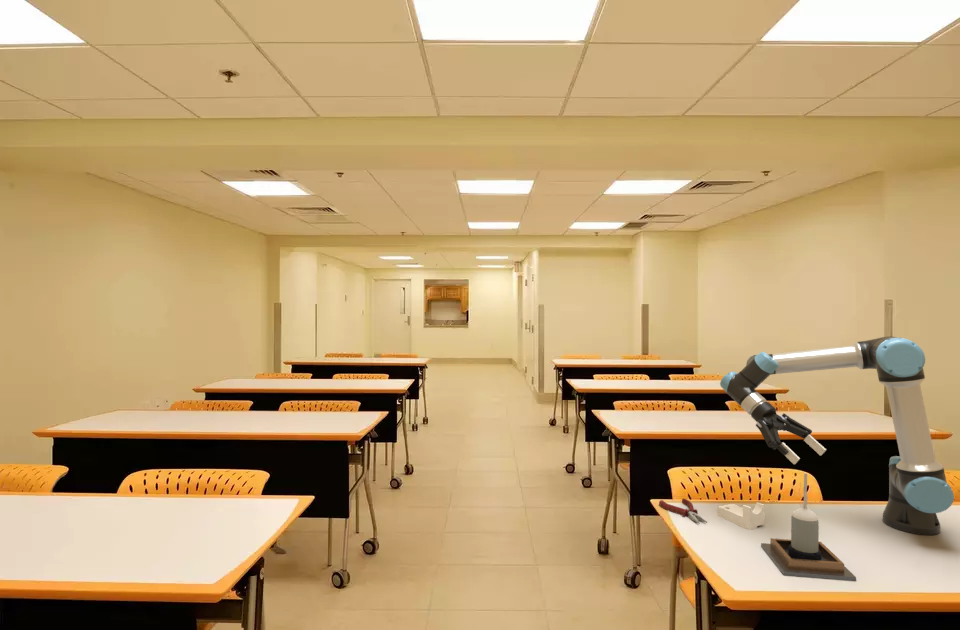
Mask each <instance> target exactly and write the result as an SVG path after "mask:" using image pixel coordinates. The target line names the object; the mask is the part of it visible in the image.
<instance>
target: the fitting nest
mask: <svg viewBox="0 0 960 630" xmlns="http://www.w3.org/2000/svg"><path fill="white" fill-rule="evenodd" d="M769 539H770V543H768V542H767V543H765V542H762V543H760V547H761V548H762V550H763V551H764V552H765V553H766V555H767V556H768V557H769V558H770V560H771V561H772V562H773V563H774V565H775V566H776V567H777V569H779V571H780V572H781V574H782V575H783V576H788V577H798V578H799V577H800V578H812V579H815V578H816V579H824V580H825V579H828V580H837V581H838V580H840V581H850V582H851V581H852V582H857V577H856V575H854V574H853V573H852V572H851V571H850V569H848V567H846V566H845V563H844V562H843V561H842V560H841V559H840V558H839V557H837V555H836V554H835V553H834V552H832V550H830V548H828V547H827V546H826V545H825V544H824V543H823V542H822V541H819V547H818V549H819V550H820V552H821V561H819V560H805V559H792V558H790V556H789V555H788V548H789V545H790V544H791V539H789V538H786V539H785V538H773V537H771V538H769Z"/></svg>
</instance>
